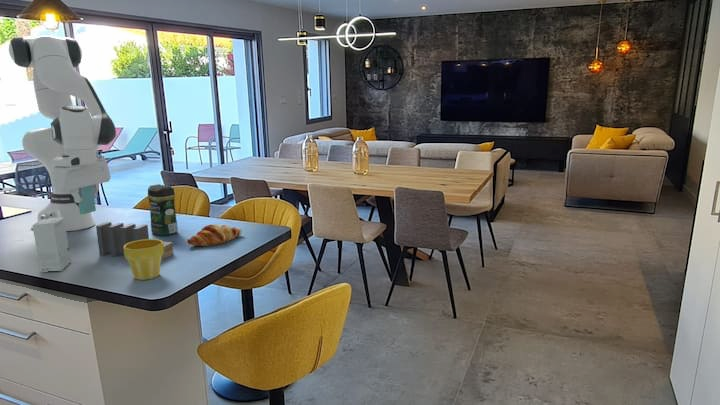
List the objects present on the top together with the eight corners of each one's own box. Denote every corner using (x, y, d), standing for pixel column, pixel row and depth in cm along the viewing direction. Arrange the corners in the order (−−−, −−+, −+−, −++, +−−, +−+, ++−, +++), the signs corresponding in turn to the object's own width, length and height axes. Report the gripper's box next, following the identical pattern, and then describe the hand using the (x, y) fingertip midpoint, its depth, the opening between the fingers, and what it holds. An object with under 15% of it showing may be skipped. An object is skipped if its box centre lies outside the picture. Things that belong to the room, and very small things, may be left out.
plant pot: (135, 269, 141) (132, 238, 139) (171, 269, 141) (168, 238, 139) (120, 283, 131) (116, 249, 129) (158, 282, 131) (155, 249, 129)
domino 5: (136, 258, 150) (133, 228, 148) (146, 253, 155) (143, 224, 153) (140, 258, 150) (137, 228, 148) (150, 253, 155) (147, 224, 153)
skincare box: (61, 271, 139) (54, 223, 136) (38, 273, 137) (31, 224, 134) (71, 262, 147) (65, 216, 143) (50, 263, 145) (43, 217, 142)
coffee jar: (147, 233, 178) (143, 185, 174) (166, 228, 184) (162, 182, 180) (162, 237, 172) (157, 188, 168) (181, 232, 179) (177, 185, 175)
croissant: (237, 242, 179) (231, 223, 180) (251, 235, 172) (244, 215, 173) (185, 255, 163) (178, 233, 164) (197, 247, 156) (191, 225, 157)
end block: (147, 261, 148) (145, 249, 147) (162, 253, 156) (161, 241, 155) (158, 262, 147) (157, 249, 146) (173, 253, 155) (172, 242, 154)
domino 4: (123, 257, 151) (120, 227, 149) (134, 252, 156) (131, 223, 154) (128, 257, 151) (124, 227, 149) (138, 252, 156) (135, 223, 154)
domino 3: (111, 256, 152) (108, 226, 150) (122, 251, 157) (119, 222, 155) (116, 256, 152) (112, 227, 150) (126, 251, 157) (123, 223, 154)
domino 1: (80, 214, 151) (76, 183, 149) (91, 210, 156) (87, 180, 154) (84, 214, 151) (80, 183, 149) (95, 210, 156) (92, 181, 153)
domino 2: (99, 255, 153) (95, 225, 151) (110, 250, 158) (107, 222, 156) (103, 255, 153) (100, 226, 151) (114, 251, 158) (111, 222, 155)
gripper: (96, 153, 160) (101, 193, 163) (45, 161, 140) (52, 206, 143) (112, 154, 159) (117, 194, 162) (63, 162, 139) (70, 207, 142)
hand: (86, 200), depth 152 cm, fingers closed on domino 1, 5 cm apart
